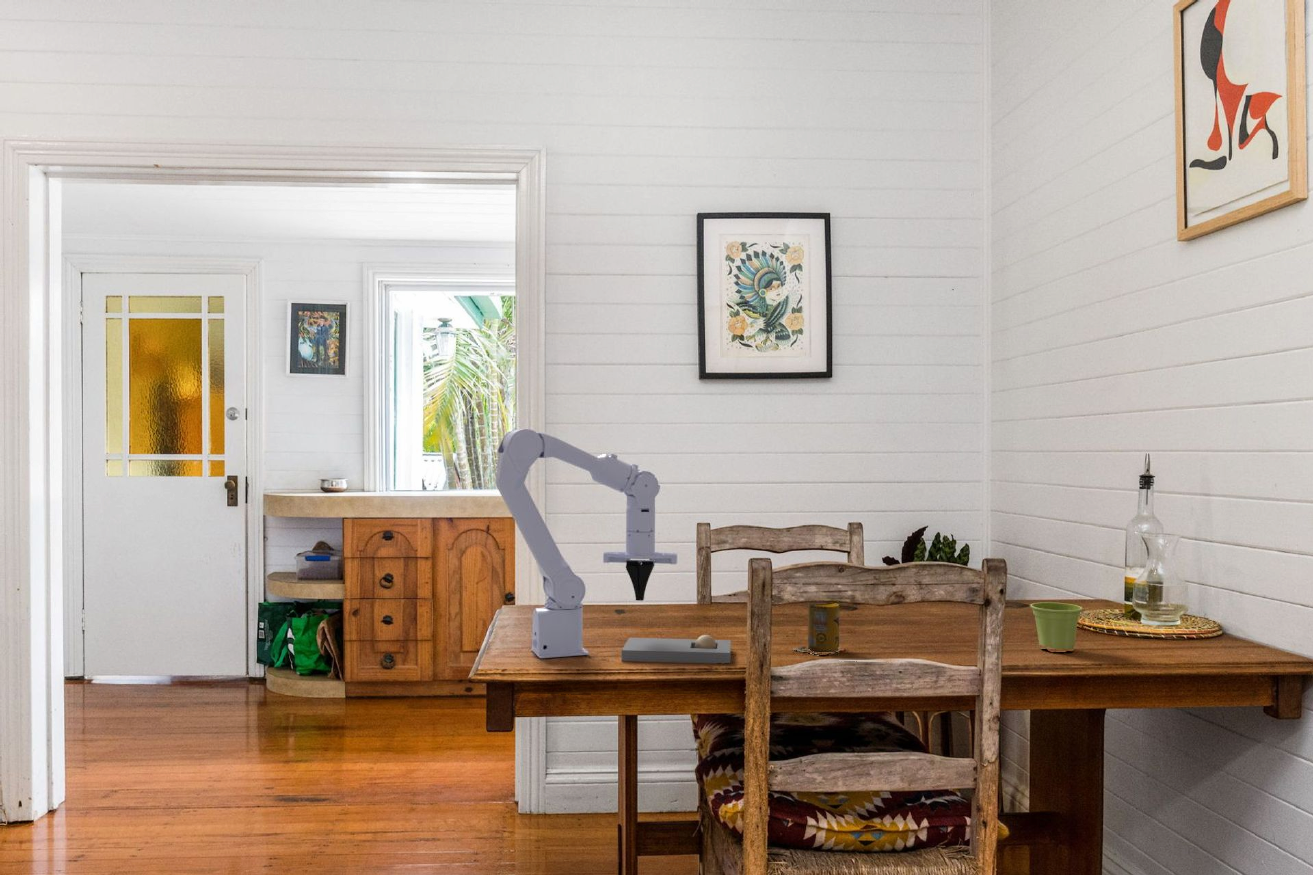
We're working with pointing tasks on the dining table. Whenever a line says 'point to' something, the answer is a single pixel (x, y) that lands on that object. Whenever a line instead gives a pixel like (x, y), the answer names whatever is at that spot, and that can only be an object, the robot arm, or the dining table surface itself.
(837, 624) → the condiment
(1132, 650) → the dining table surface
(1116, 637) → the dining table surface
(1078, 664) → the dining table surface
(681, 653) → the board
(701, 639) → the ball
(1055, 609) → the plant pot
